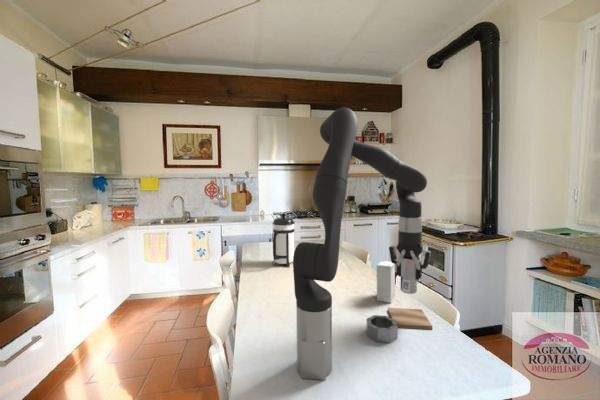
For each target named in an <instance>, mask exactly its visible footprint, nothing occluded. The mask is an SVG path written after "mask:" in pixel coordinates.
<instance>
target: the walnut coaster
mask: <svg viewBox="0 0 600 400" xmlns="http://www.w3.org/2000/svg"><path fill="white" fill-rule="evenodd" d="M387 312H388V314H389V316H390V317H389V318H391V319H394V320H395V321H396V324H397V326H398V328H404V329H405V328H406V329H422V330H423V329H424V330H433V324H432V323H431V322H430V321H429V319H428V318H427V315H426V314H425V313H424V311H423V309H420V308H399V307H388V308H387Z"/></svg>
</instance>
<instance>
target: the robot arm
mask: <svg viewBox="0 0 600 400" xmlns="http://www.w3.org/2000/svg"><path fill="white" fill-rule="evenodd" d="M358 127H359V125H358V118H357V116H356V113H355V112H354V111H353V110H352V109H351V108H349V107H339V108H337V109H335V110H334V111H333V112H331V114H330V115H329V116H328V117H327V118H326V119H324V121H323V122H322V124H320V127H319V134H320V137H321V138H322V140H323V141H324V142H325V143H326V144H328V147H327V150H326V152H325V154H324V156H323V158H322V160H321V162H320V164H319V166H318V169H317V171H316V174H315V179H314V183H313V188H312V201H313V203H314V205H315V208H316V211H317V212H318V214H319V216H320V218H321V222H322V224H323V227H324V243H320V242H319V243H318V242H317V243H316V242H309V241H307V242H306V241H302V242H300V243H298V244H297V245H296V247H295V248H294V256H293V262H292V270H293V272H292V273H293V283H294V284H293V285H294V287H293V289H294V296H295V300H296V309H295V310H296V367H297V372H298V373H299V374H300V378H301V379H311V380H321V381H324V380H326V378H327V377H328V376H329V375H330V374H331V372H332V370H333V323H332V322H333V299H332V298H333V297H332V294H331V292H330V291H329V290H328V289H326V288H325V287H323V286H322V285H320V284H319V283H317V281H321V282H326V283H327V282H329V283H330V282H332V281H333V280H334V279H335V276H336V274H337V273H338V266H339V258H340V257H339V256H340V244H341V243H340V241H341V229H342V228H341V227H342V220H343V219H342V218H343V213H344V207H345V202H346V201H345V200H346V196H347V188H348V180H349V171H350V165H351V157H354V158H355V159H358V160H359V161H361V162H363V163H364V164H366V165H368V166H370V167H371V168H372V169H374V170H375V171H377V172H378V173H380V174H381V175H382V176H384V177H386V178H387V179H389V180H393V181H395V190H396V191H395V192H396V193H397V199H398V200H397V201H398V203H399V211H398V212H399V218H398V226H397V227H398V228H397V231H398V232H397V233H398V235H397V236H398V237H397V238H398V239H397V245H391V246H389V247H388V251H389V255H390V262H392V263H394V264H395V266H396V274H397V276H398V277H400V278H401V261H402V259H403V258H406V259H411V260H413V261H414V263H415V265H416V267H417V269H416V280H417V281H419V280H420V279H421V278H422V276H423V273H422V272H423V271H422V270H423V269H424V270H425V269H427V268H428V267H429V264H430V260H431V255H432V251H431V250H426V249H424V248H423V246H422V241H423V240H422V239H423V238H422V237H423V236H422V235H423V234H422V233H423V222H422V203H421V200H419V199H417V198H416V194H415V193H420V192H422V191H424V190H425V188H427V184H428V180H427V177H426V176H425V174H424V173H423V172H422V171H420V170H419V169H418V168H416V167H414V166H411V164H407V163H405V162H403V161H401V160H400V159H399V158H398V157H396V156H395V155H393V154H392V152H390V151H388V150H386V149H384V148H381V147H378V146H376V145H375V146H374V145H371V144H369V143H364V142H361V141H359V140H357V139H356V136H357V133H358ZM396 252H398V253H399V254H400V255H399V257H398V258H397V253H396ZM421 254H422V256H423V257H424V258H423V259H424V260H423V264H422V261H421V257H420V255H421Z"/></svg>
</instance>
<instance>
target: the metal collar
mask: <svg viewBox="0 0 600 400" xmlns="http://www.w3.org/2000/svg"><path fill="white" fill-rule="evenodd" d="M365 330H366V334H367V337H368V338H369V339H371V340H373V341H375V342H376V343H380V344H381V343H385V344H392V342H395V341H397V340H398V334H399V331H398V330H399V327H398V326H397V324H396V321H395V320H394V319H391V317H389V316H387V315H380V314H378V315H376V314H372V315H371V316H369V317H367V318H366V329H365Z"/></svg>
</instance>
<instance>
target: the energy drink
mask: <svg viewBox="0 0 600 400" xmlns="http://www.w3.org/2000/svg"><path fill="white" fill-rule="evenodd" d="M416 269H417V267H416V265H415V263H414V261H413V260H411V259H406V258H403V259H402V261H401V277H400V291H401V292H403V293H404V294H408V295H414V294H416V293H417V291H418V280H416Z"/></svg>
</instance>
